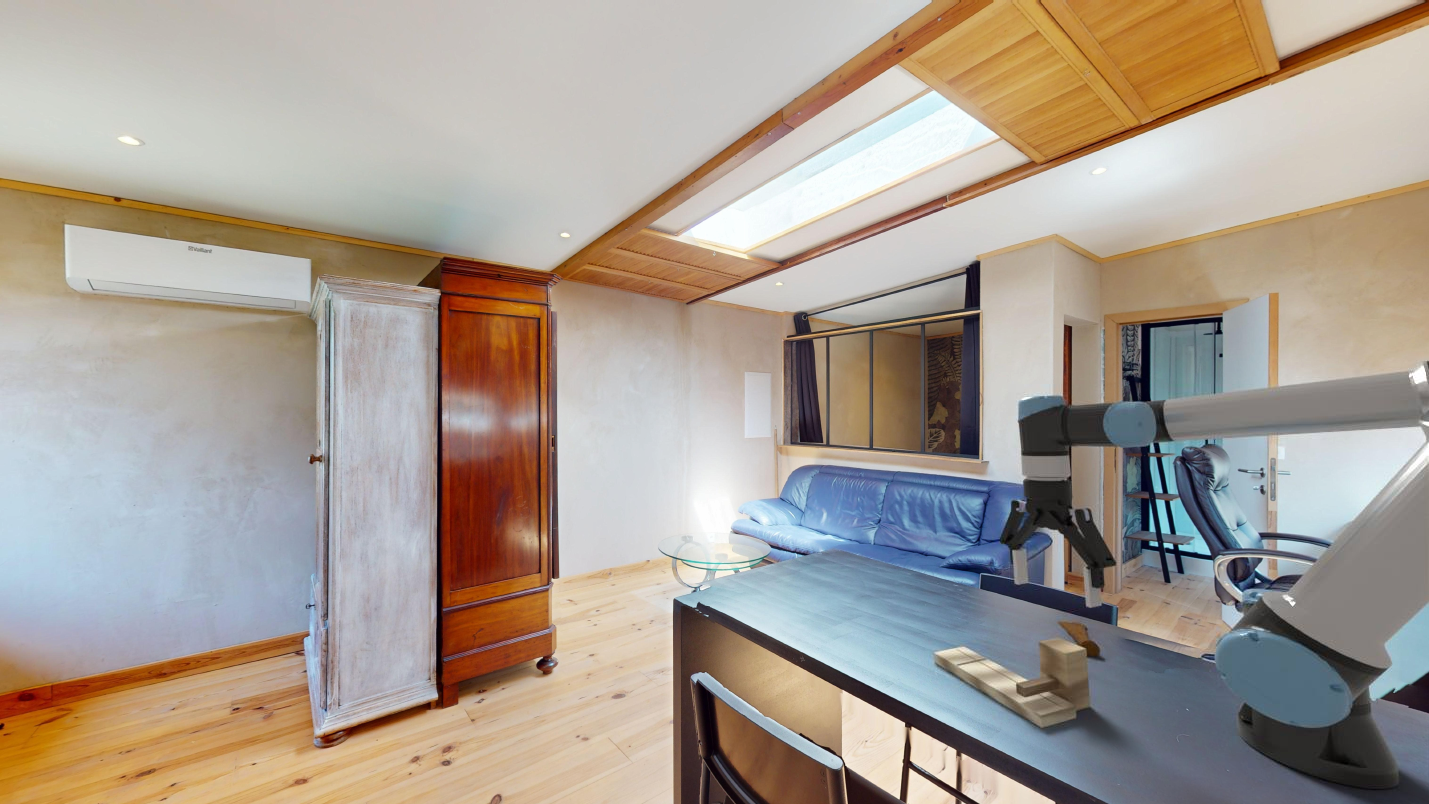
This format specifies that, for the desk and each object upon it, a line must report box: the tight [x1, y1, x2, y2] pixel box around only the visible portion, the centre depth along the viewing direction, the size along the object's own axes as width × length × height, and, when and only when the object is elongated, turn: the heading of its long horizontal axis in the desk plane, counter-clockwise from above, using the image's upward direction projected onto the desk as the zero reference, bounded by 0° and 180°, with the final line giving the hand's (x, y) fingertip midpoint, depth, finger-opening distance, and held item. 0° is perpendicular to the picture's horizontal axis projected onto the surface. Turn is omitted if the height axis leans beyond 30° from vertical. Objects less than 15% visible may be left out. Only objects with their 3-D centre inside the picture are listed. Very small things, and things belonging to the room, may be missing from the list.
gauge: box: [1016, 637, 1091, 712], centre depth 86 cm, size 5×13×10 cm, turn 108°
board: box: [933, 646, 1077, 729], centre depth 92 cm, size 24×8×2 cm, turn 18°
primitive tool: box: [1057, 621, 1101, 657], centre depth 112 cm, size 19×6×4 cm, turn 157°
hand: (1055, 594), depth 89 cm, fingers open, 13 cm apart
